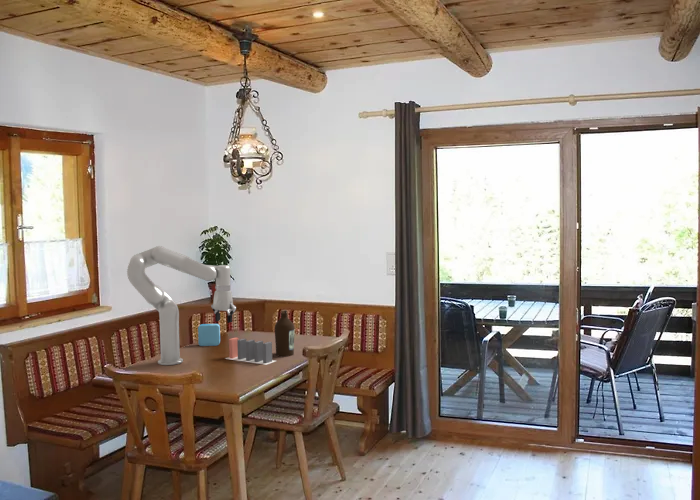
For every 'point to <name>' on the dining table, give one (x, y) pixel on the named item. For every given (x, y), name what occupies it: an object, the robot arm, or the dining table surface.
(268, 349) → the domino
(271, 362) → the board
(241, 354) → the domino
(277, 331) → the olive oil
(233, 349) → the red domino
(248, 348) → the domino
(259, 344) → the domino
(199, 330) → the light blue square slab
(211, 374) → the dining table surface
